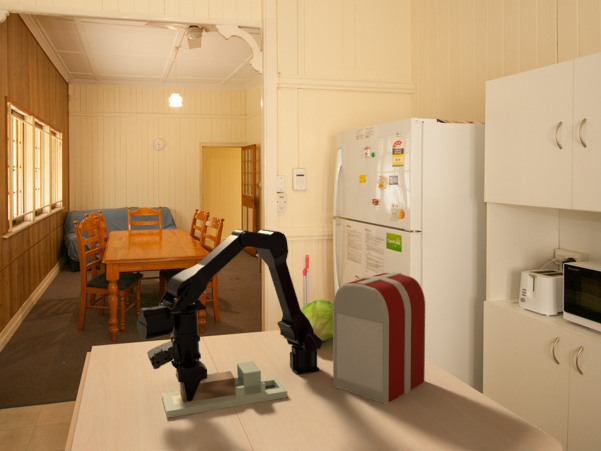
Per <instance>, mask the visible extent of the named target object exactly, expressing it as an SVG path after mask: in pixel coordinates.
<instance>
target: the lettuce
mask: <svg viewBox="0 0 601 451" xmlns="http://www.w3.org/2000/svg"><path fill="white" fill-rule="evenodd" d="M300 309H301V311H302V312H303V313H304V315H305V316H306V317H307V318H308V320H309V321H310V323H311V325H312V327H313V330H314V333H315V334H316V335H317V336H318V337H319V338H320V339H321V340H322V342H324V341H325V342H326V341H327V340H329V339H330V338H333V303H331V301H329V300H325V299H317V300H314V301H312V302H309V303H307V304H306V305H304V307H302V308H300Z"/></svg>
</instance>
